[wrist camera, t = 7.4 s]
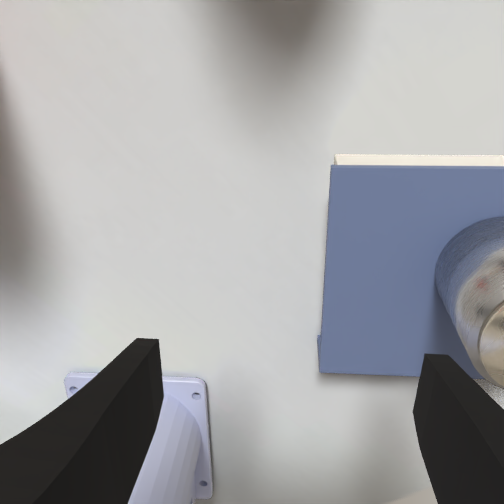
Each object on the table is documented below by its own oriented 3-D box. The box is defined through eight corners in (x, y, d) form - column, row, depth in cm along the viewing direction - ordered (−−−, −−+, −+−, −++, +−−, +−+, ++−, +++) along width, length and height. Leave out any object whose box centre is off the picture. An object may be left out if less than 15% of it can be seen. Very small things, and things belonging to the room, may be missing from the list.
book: (593, 344, 25) (630, 385, 22) (316, 335, 26) (319, 372, 23) (663, 150, 20) (720, 170, 17) (326, 148, 21) (331, 167, 19)
